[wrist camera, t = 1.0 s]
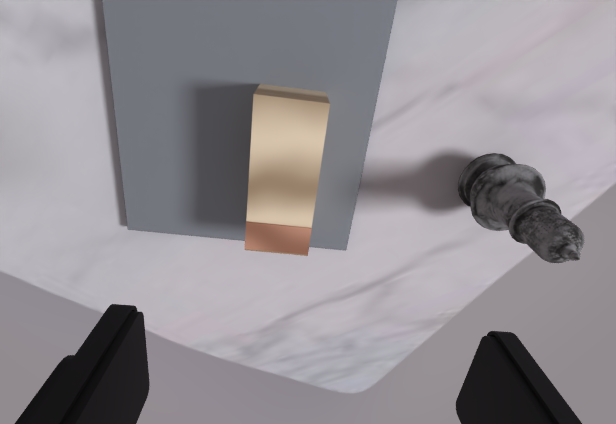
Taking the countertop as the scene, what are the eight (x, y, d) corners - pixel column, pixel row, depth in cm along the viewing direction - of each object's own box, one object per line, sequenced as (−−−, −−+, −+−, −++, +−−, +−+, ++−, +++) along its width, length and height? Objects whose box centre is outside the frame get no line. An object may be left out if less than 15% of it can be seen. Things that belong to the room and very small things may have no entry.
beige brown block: (260, 83, 28) (253, 94, 24) (325, 92, 28) (330, 104, 24) (251, 222, 33) (244, 250, 29) (306, 227, 34) (307, 256, 29)
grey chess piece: (441, 193, 33) (507, 275, 23) (485, 137, 31) (583, 199, 20) (490, 221, 35) (575, 310, 24) (536, 169, 32) (652, 242, 22)
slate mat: (100, -68, 24) (94, -71, 23) (399, -22, 26) (401, -23, 25) (131, 225, 34) (127, 229, 33) (345, 245, 36) (346, 250, 35)
